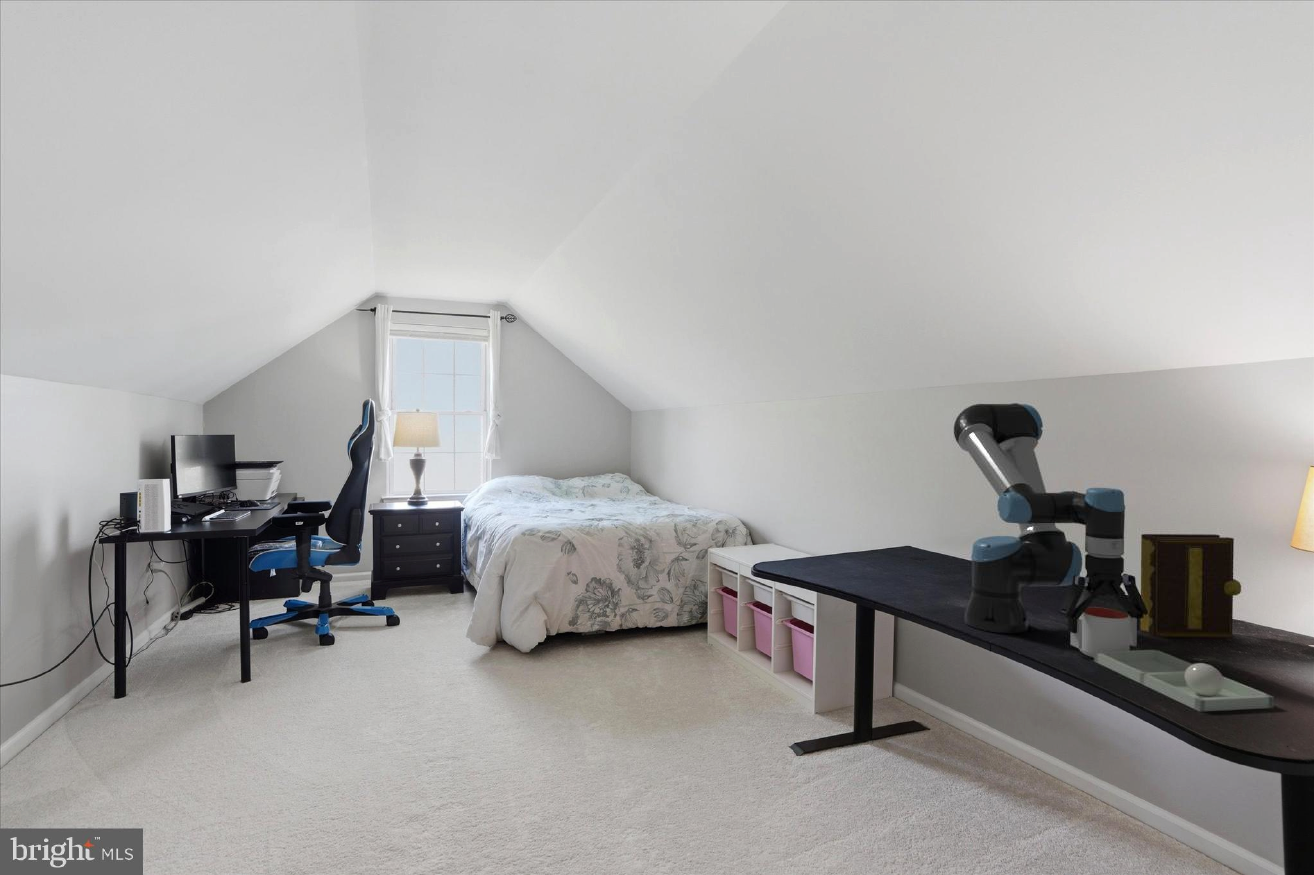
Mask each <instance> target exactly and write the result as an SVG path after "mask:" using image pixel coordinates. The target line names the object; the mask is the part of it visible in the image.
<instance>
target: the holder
mask: <svg viewBox="0 0 1314 875" xmlns="http://www.w3.org/2000/svg"><path fill="white" fill-rule="evenodd" d="M1093 661H1094V662H1095V663H1097V664H1098V665H1101V666H1103V667H1105V668H1108V669H1110V670H1111V671H1113V672H1116V673H1118V674H1120V675H1122V676H1124V677H1126V678H1128V679H1131V680H1132V681H1135V682H1136V683H1139V684H1142V685H1143V686H1145V687H1147V688H1150V689H1152V690H1153V691H1156V692H1157V693H1160V694H1163V695H1164V696H1166V697H1168V698H1170V699H1173V700H1174V701H1176V702H1179V703H1181V704H1183V705H1186V706H1187V707H1190V708H1191V709H1194V710H1195V711H1197V712H1216V711H1217V712H1218V711H1235V710H1236V711H1238V710H1254V709H1255V710H1256V709H1258V710H1259V709H1274V707H1275V702H1274V701H1275V697H1274V696H1272V695H1270V694H1267V693H1265V692H1263V691H1261V690H1258V689H1255V688H1254V687H1250V686H1247V685H1245V684H1243V683H1240V682H1238V681H1236V680H1233V679H1230V678H1228V677H1226V676H1223V679H1224V687H1223V689H1222V690H1221V692H1219V693H1218V694H1216V695H1212V696H1205V695H1201V694H1198V693H1196V692H1194V691H1193V690H1192V689H1190V688H1189V686H1188V685H1187V683H1186V681H1185V678H1184V674H1185V671H1186V669H1187V668H1188V667H1189V666H1190V665H1193V664H1194V663H1191V662H1188V661H1186V660H1183V659H1180V658H1178V657H1176V656H1174V655H1171V654H1168V653H1165V652H1163V651H1161V650H1158V649H1143V650H1142V649H1141V650H1140V649H1136V650H1130V651H1110V652H1094V658H1093Z"/></svg>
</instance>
